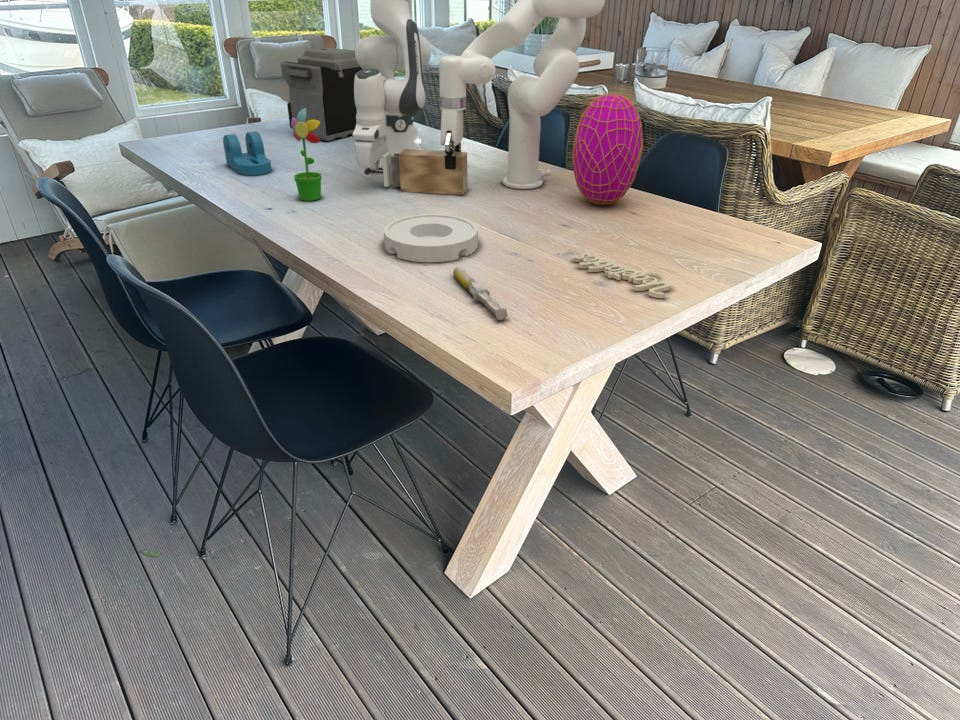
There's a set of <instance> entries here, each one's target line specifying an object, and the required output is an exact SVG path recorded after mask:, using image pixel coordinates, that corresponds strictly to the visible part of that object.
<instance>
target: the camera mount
mask: <svg viewBox="0 0 960 720" xmlns="http://www.w3.org/2000/svg"><path fill="white" fill-rule="evenodd" d="M222 140H223V141H222V143H223V149H224V150H223V151H224V156H225V161H226V165H227V166H228V167H230V168H231V169H232V170H234V171H236V172H237V173H238V174H239V175H244V176H260V175H265V174H268V173H271V172H272V164H271V159H270V158H268V157H267V156H266V153H265V145H264V141H263V139H262V136H261V134H260V132H258V131H247V132H246V133H245V146H246V152H243V151H242V150H243V149H242V146H241V142H240V140H239V138H238V135H236V134H235V133H231V134H224V135H223V138H222Z"/></svg>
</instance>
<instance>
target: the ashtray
mask: <svg viewBox="0 0 960 720" xmlns="http://www.w3.org/2000/svg"><path fill="white" fill-rule="evenodd" d="M383 238H384V239H383V240H384V249H385V251H386V252H387V253H388V254H390V255H396V256H397V258H398V259H401V260H403V261H410V262H415V263H416V262H417V263H443V262H450V261H455V260H459V257H461V256H464V257H468V256H470V255H472V254H473V253H474V252H475V251H477V249H478V246H479V227H478V225H477V224H475V222H473V221H471V220H469V219H468V218H465V217H461V216H459V215H457V216H456V215H451V214H446V213H445V214H443V213H421V214H420V213H419V214H413V215H407V216H403V217H399V218H397V219H394V220H392V221H391V222H388V223H387V224H386V225H385V226H384V228H383Z"/></svg>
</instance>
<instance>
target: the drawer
mask: <svg viewBox="0 0 960 720" xmlns="http://www.w3.org/2000/svg"><path fill="white" fill-rule="evenodd" d="M381 159H382V160H381V161H382V167H379V171H370V168H365V169H364V171H363V173H364V174H365V175H366V176H369V175H371V173H378V174H377V175H379V174H380V175H381V174H382V175H383V187H384V188H388V187H390V186H391V185H392V186H394V187H401V186H400V169H399V154H398V153H394V156H391V152H386V153H385V154H384V155H383V156H382V157H381Z"/></svg>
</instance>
